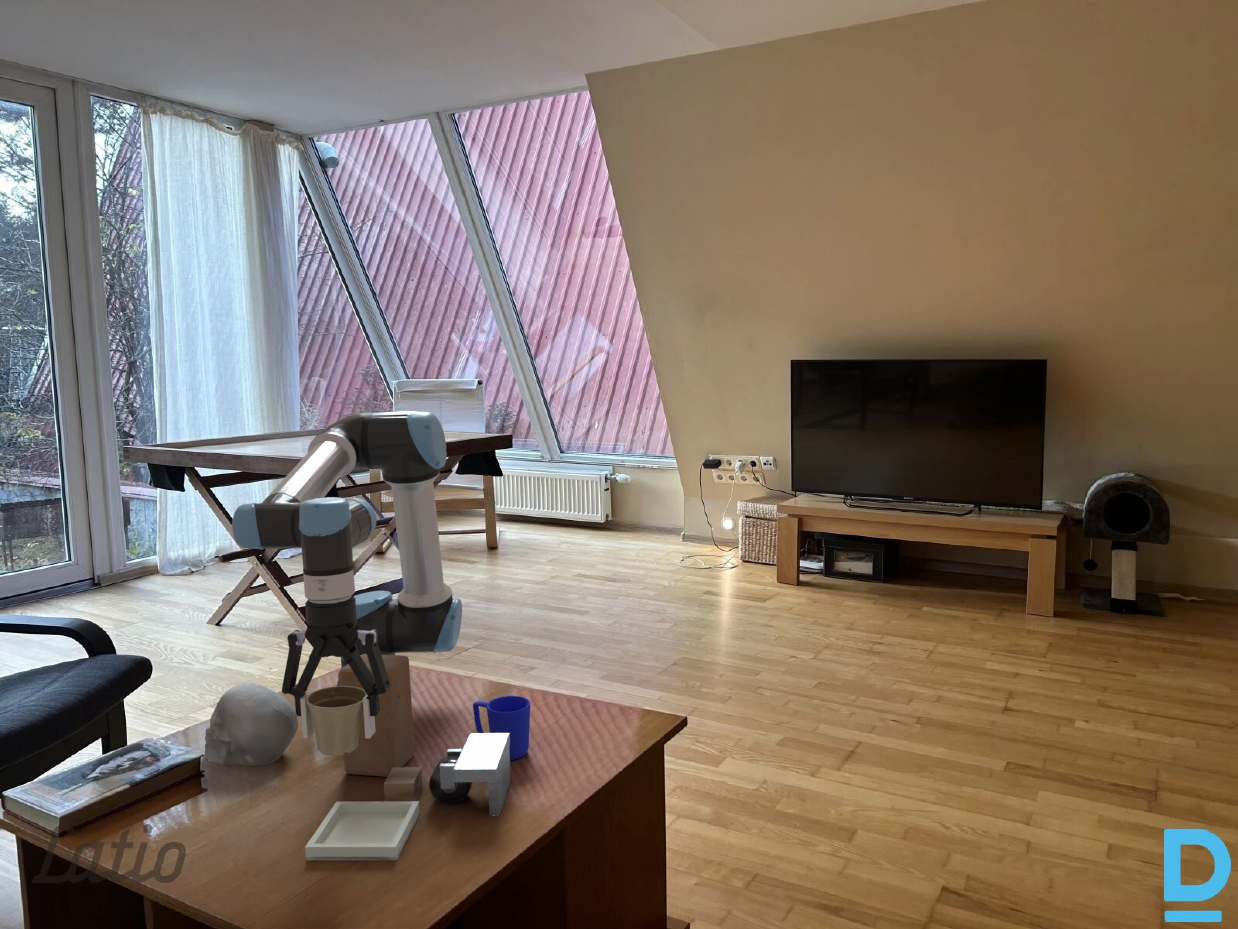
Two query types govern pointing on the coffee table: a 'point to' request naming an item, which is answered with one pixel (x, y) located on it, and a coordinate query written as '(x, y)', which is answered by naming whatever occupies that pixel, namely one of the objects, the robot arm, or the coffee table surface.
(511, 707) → the mug
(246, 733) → the skull
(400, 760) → the wooden block
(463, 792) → the caster wheel
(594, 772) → the coffee table surface
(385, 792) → the block
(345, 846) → the tray
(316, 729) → the flower pot
